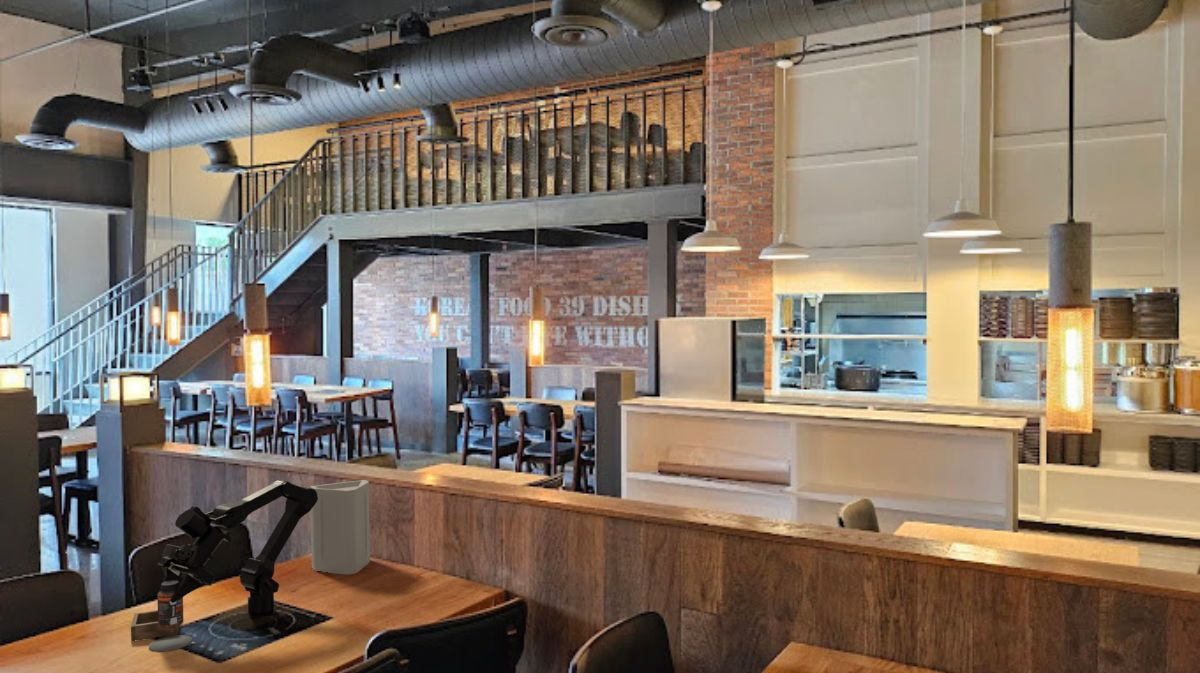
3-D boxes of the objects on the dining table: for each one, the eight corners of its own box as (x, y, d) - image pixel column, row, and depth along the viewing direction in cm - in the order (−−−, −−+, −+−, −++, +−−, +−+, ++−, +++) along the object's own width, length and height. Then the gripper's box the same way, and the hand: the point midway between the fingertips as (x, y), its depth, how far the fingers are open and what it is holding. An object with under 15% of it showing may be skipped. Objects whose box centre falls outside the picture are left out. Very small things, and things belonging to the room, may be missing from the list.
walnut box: (179, 621, 233) (179, 607, 233) (177, 634, 223) (177, 619, 223) (134, 627, 228) (134, 613, 228) (131, 641, 218) (130, 626, 218)
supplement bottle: (181, 628, 214) (179, 585, 214) (155, 630, 213) (154, 587, 212) (185, 619, 220) (184, 577, 220) (161, 622, 219) (159, 580, 218)
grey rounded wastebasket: (322, 579, 269) (321, 493, 269) (311, 567, 282) (309, 486, 281) (380, 568, 280) (378, 486, 279) (366, 558, 292) (365, 479, 291)
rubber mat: (192, 634, 223) (192, 632, 223) (191, 647, 214) (191, 646, 214) (150, 640, 219) (150, 639, 219) (147, 654, 210) (147, 653, 210)
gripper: (163, 526, 224) (123, 578, 215) (202, 536, 214) (161, 591, 205) (192, 547, 231) (154, 598, 222) (231, 558, 221) (193, 612, 212)
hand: (165, 599), depth 215 cm, fingers closed on supplement bottle, 6 cm apart
